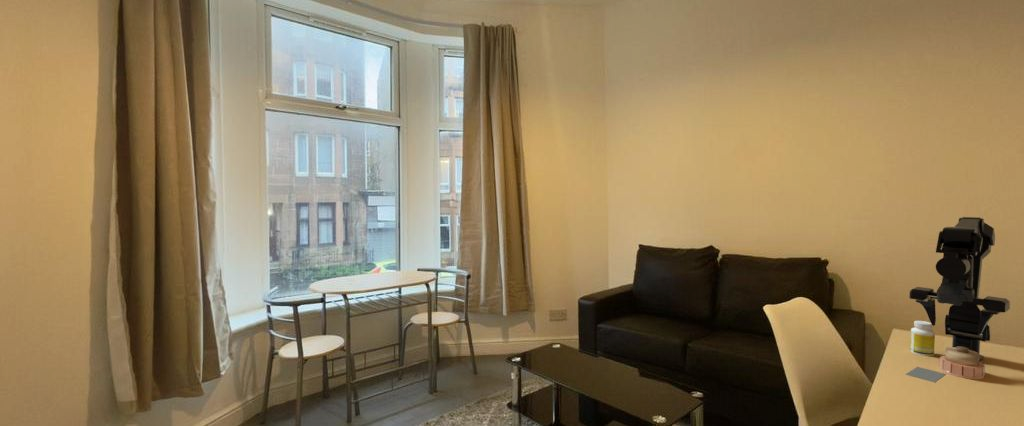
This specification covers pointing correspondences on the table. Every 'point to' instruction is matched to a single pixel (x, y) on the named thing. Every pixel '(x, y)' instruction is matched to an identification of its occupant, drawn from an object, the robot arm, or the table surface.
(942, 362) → the pink notched ring
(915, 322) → the supplement bottle
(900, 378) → the table surface
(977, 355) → the lid
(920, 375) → the mat
